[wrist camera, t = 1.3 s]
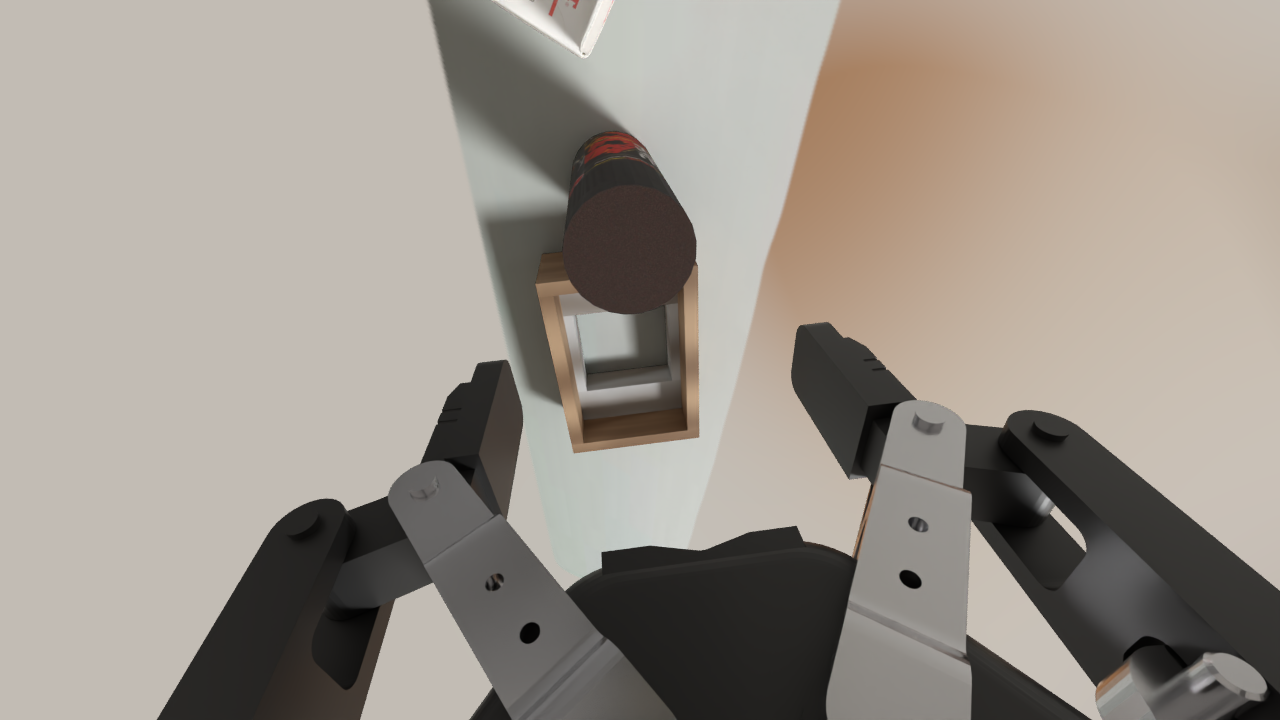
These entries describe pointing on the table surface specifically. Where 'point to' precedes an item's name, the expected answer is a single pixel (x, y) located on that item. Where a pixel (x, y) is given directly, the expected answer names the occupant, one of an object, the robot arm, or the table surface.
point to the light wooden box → (621, 371)
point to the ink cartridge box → (563, 20)
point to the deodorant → (624, 228)
